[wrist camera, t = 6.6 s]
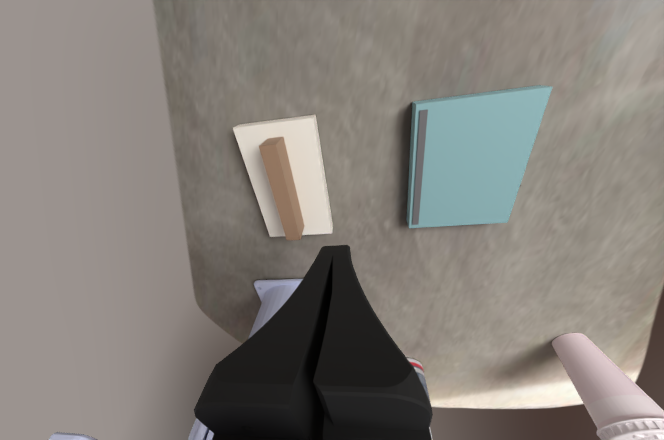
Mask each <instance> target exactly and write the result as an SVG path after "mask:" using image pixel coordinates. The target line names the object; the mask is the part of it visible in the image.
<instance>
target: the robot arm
mask: <svg viewBox="0 0 664 440" xmlns="http://www.w3.org/2000/svg"><path fill="white" fill-rule="evenodd" d="M254 287H255V289H256V291H257V293H258V295H259V298H260V300H261V302H262V304H261V307H260V309H259V312H258V315H257V317H256V320H255V322H254V325H253V327H252V330H251V333H250V335H249V338H248V340H247V341H246V342H245V343H243V344H242V345H241V346H240V347H238V348H237V349H236V350H235V351H233V352H232V353H231V354H229V355H228V356H227V357H226V358H224V359H223V360H222V361H220V362H219V363H218V364H216V366H215V368H214V370H213V371H212V373H211V375H210V376H209V379H208V381H207V383H206V385H205V387H204V389H203V391H202V394H201V396H200V398H199V400H198V402H197V404H196V407H195V409H194V412H195V416H196V420H195V423H194V425H193V428H192V430H191V433H190V435H189V438H188V440H432V438H431V434H430V429H429V427H430V423H431V419H432V408H431V405H430V402H429V399H428V396H427V394H426V391H425V389H424V387H423V385H422V383H421V381H420V379H419V377H418V375H417V373H416V371H415V369H414V367H413V365H412V364H411V363H410V362H409V360H408V359H407V358H406V357H405V355H404V354H403V353H402V352H401V350H400V349H399V348H398V346H397V345H396V344H395V342H394V341H393V340H392V338H391V337H390V335H389V334H388V333H387V331H386V329H385V328H384V326H383V325H382V323H381V322H380V320H379V319H378V317H377V316H376V314H375V312H374V311H373V309H372V307H371V305H370V304H369V302H368V300H367V298H366V296H365V294H364V292H363V290H362V288H361V286H360V283H359V281H358V279H357V276H356V273H355V270H354V268H353V265H352V261H351V253H350V247H349V246H348V245H339V246H323V247H322V248H321V250H320V252H319V254H318V256H317V257H316V259H315V261H314V263H313V264H312V266H311V268H310V269H309V271H308V272H307V274H306V275H305V277H304V278H303V279H284V280H257V281H255V283H254ZM48 440H97V439H95V438H93V437H90V436H87V435H84V434H75V433H60V432H56V433H54V434H52V436H51V437H50V438H49V439H48Z"/></svg>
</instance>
